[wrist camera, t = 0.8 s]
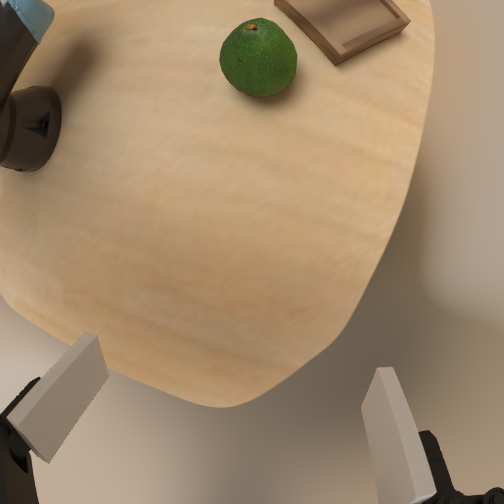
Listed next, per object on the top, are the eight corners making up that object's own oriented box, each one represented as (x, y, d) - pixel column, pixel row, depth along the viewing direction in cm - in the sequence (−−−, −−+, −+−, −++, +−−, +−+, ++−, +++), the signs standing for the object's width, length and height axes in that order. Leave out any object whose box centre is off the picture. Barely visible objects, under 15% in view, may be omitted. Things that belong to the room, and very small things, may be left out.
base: (274, 4, 25) (272, -11, 22) (341, -26, 22) (346, -40, 18) (334, 65, 28) (340, 54, 24) (400, 32, 24) (411, 21, 21)
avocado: (303, 57, 28) (310, 11, 16) (284, 111, 30) (284, 85, 19) (240, 41, 28) (220, -6, 16) (221, 94, 30) (189, 64, 19)
